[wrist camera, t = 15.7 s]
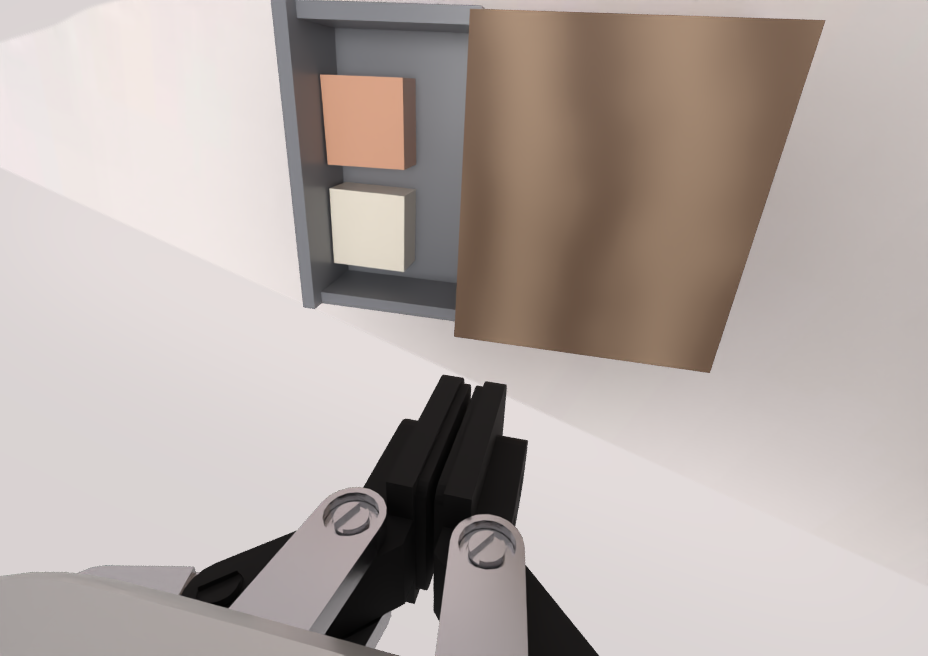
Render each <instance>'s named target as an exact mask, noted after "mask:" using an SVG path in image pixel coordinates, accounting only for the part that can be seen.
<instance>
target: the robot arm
mask: <svg viewBox="0 0 928 656" xmlns="http://www.w3.org/2000/svg"><path fill="white" fill-rule="evenodd" d="M506 389H507V386H506V385H505V384H499V383H493V382H485V383H484V386H483V387H482V386H476V388H475V390H474V393H473V395H472V398H471V385H470V384H464V378H461V377H454V376H448V375H442V376H441V378H440V380H439V382H438V384H437V386H436V388H435V390H434V391H433V394H432V395H431V397H430V399H429V401H428V403H427V405H426V407H425V409H424V411H423V412H422V414H421V416H420V418H419V420H418V421H416V420H411V419H404V420H403V421H402V422H401V423H400V425H399V426H398V428H397V430H396V432H395V433H394V435H393V437H392V439H391V440H390V442H389V444H388V446H387V447H386V449H385V451H384V452H383V454H382V456H381V458H380V459H379V461H378V463H377V465H376V466H375V468H374V470H373V472H372V473H371V475H370V477H369V478H368V480H367V482H366V484H365V485H364V487H363V488H361V487H352V488H346V489H343V490H339V491H337V492H335V493H333V494H332V495H329V496H328V497H327V498H326V499H325V500H324V501H323V502H322V503H321V504H320V505H319V506H318V507H317V508H316V509H315V511H314V512H313V513H312V514H311V515H310V516H309V517H308V518H307V520H306V521H305V522H304V523H303V524H302V525H301V526H300V528H299V529H298V530H297V531H294V532H292V533H289V534H287V535H284V536H282V537H280V538H277V539H275V540H272V541H270V542H267V543H265V544H262V545H260V546H257V547H255V548H252V549H250V550H247V551H245V552H242V553H240V554H237V555H235V556H232V557H230V558H227V559H225V560H222V561H220V562H218V563H215V564H213V565H212V566H209V567H208V568H206V569H204V570H202V571H201V572H196V571H195V568H194V567H184V566H183V567H182V566H113V565H111V566H110V565H105V566H97V567H92V568H89V569H86V570H84V571H81V572H79V573H68V572H30V573H21V574H14V575H6V576H0V656H398V655H395V654H391V653H387V652H384V651H380V650H376V649H375V647H376V645H377V643H378V642H379V640H380V638H381V636H382V634H383V632H384V630H385V629H386V627H387V625H388V623H389V620H390V617H391V611H392V610H394V609H396V608H398V607H400V606H401V605H403V604H405V602H409V603H413V604H415V601H416V598H417V595H418V593H419V590H420V589H423V590H428V588H429V585H430V582H431V579H432V576H433V573H434V613H435V614H436V616H437V618H438V620H439V630H438V637H437V645H436V652H435V656H599V655H598V654H597V653H596V651H595V650H594V649H593V648H592V646H591V645H590V644H589V643H588V642H587V640H586V639H585V638H584V637H583V635H582V634H581V633H580V632H579V630H578V629H577V628H576V627H575V626H574V624H573V623H572V622H571V620H570V619H569V618H568V617H567V616H566V615H565V613H564V612H563V611H562V610H561V608H560V607H559V606H558V604H557V603H556V602H555V601H554V599H553V598H552V597H551V596H550V595H549V593H548V592H547V591H546V590H545V588H544V587H543V586H542V585H541V583H540V582H539V581H538V580H537V578H536V577H535V576H534V575H533V574H532V572H531V571H530V570H529V569H528V567H527V566H526V565H525V547H524V542H523V538H522V536H521V534H520V533H519V531H518V529H517V528H516V527H515V524H516V519H517V513H518V508H519V502H520V497H521V490H522V484H523V476H524V470H525V461H526V454H527V445H528V441H527V440H523V439H517V438H511V437H506V436H502V435H503V423H504V412H505V400H506Z"/></svg>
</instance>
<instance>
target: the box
mask: <svg viewBox="0 0 928 656" xmlns="http://www.w3.org/2000/svg"><path fill="white" fill-rule="evenodd" d="M271 7H272V17H273V26H274V35H275V45H276V54H277V64H278V73H279V82H280V92H281V101H282V111H283V120H284V129H285V139H286V148H287V157H288V167H289V176H290V186H291V195H292V204H293V214H294V223H295V233H296V242H297V251H298V261H299V270H300V280H301V289H302V298H303V307H305V308H312V309H315V308H316V307H318V306H319V305H320V304H321V303H326V304H333V305H340V306H348V307H355V308H362V309H369V310H377V311H384V312H391V313H399V314H406V315H413V316H420V317H428V318H435V319H442V320H450V321H455V309H456V288H457V267H458V246H459V225H460V205H461V184H462V163H463V142H464V121H465V100H466V80H467V59H468V38H469V17H470V9H485V8H484V7H482V6H481V5H449V4H417V3H386V2H354V1H322V0H271ZM320 75H347V76H373V77H400V78H415V81H416V165H414V166H412V167H410V168H407V169H405V170H398V169H384V168H370V167H356V166H341V165H328V161H327V150H326V138H325V126H324V115H323V103H322V92H321V80H320ZM344 182H352V183H361V184H371V185H381V186H390V187H400V188H409V189H416V219H415V261H414V262H413V263H412V264H411V265H410V266H409V267H408V268H407V269H406V270H405V271H404V272H401V271H393V270H385V269H378V268H370V267H363V266H355V265H347V264H340V263H334V253H333V237H332V221H331V205H330V190H329V188H332V187H334V186H337V185H339V184H342V183H344Z"/></svg>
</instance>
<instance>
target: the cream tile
mask: <svg viewBox="0 0 928 656" xmlns="http://www.w3.org/2000/svg"><path fill="white" fill-rule="evenodd" d="M329 190H330V205H331V221H332V237H333V253H334V263H340V264H347V265H355V266H363V267H370V268H378V269H385V270H393V271H401V272H404V271H405V270H406V269H407V268H408V267H409V266H410V265H411V264H412V263H413V262H414V261H415V219H416V189H409V188H400V187H390V186H381V185H371V184H361V183H352V182H344V183H342V184H339V185H337V186H334V187H332V188H329Z"/></svg>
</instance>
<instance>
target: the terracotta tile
mask: <svg viewBox="0 0 928 656" xmlns="http://www.w3.org/2000/svg"><path fill="white" fill-rule="evenodd" d="M320 80H321V92H322V103H323V115H324V126H325V138H326V150H327V161H328V165H341V166H356V167H370V168H384V169H398V170H405V169H407V168H410V167H412V166H414V165H416V81H415V78H400V77H373V76H347V75H320Z"/></svg>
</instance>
